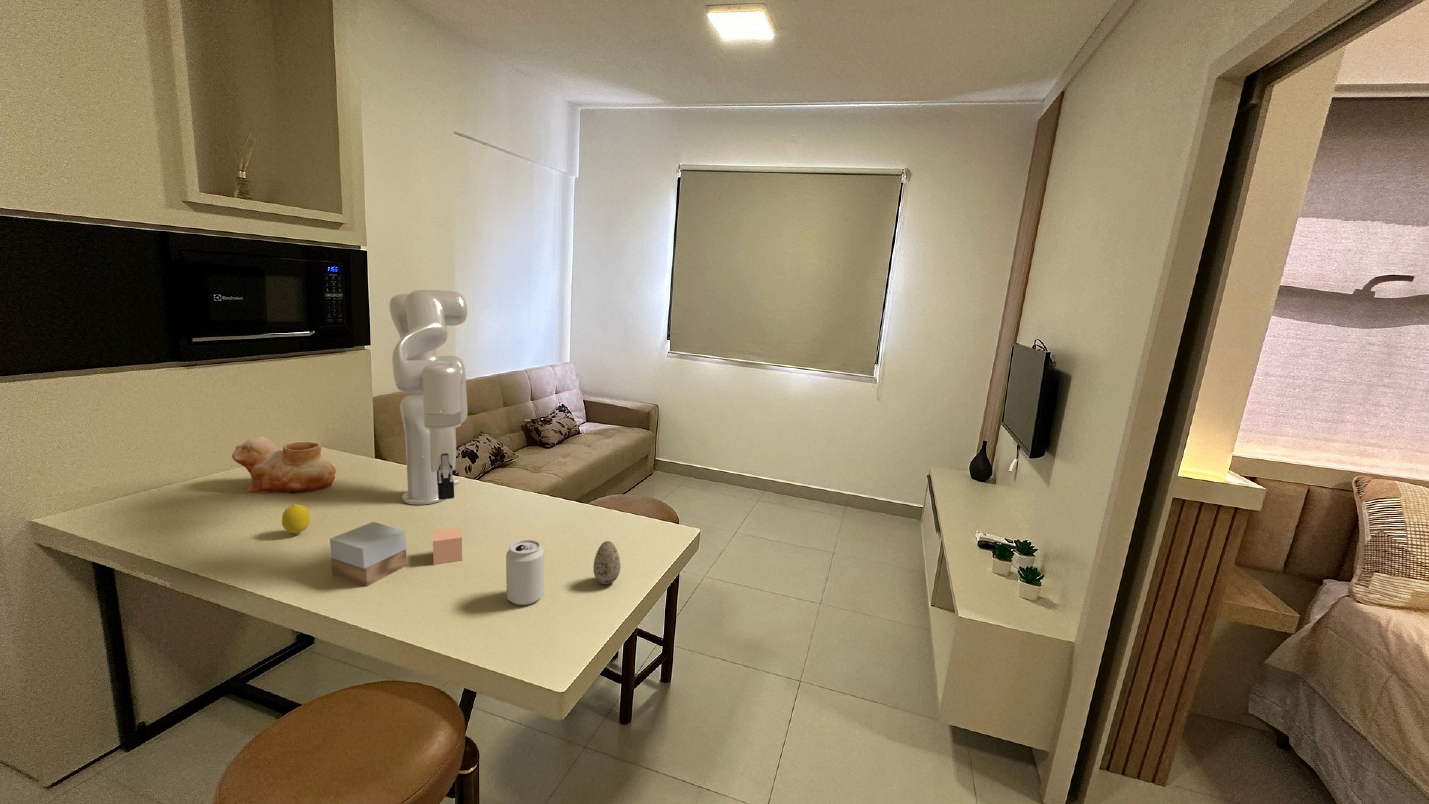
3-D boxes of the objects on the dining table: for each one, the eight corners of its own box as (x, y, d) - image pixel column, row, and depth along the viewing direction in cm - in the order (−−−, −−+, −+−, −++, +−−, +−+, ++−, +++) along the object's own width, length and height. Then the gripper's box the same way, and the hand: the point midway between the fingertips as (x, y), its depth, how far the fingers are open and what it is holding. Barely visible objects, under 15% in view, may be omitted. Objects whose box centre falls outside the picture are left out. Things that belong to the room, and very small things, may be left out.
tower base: (373, 557, 128) (372, 539, 127) (406, 566, 125) (405, 548, 124) (332, 577, 119) (331, 558, 118) (367, 587, 116) (366, 568, 115)
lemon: (296, 540, 133) (293, 509, 132) (277, 537, 134) (274, 506, 133) (316, 531, 138) (314, 501, 137) (298, 528, 139) (295, 498, 138)
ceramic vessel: (256, 477, 171) (251, 430, 168) (346, 479, 174) (342, 433, 171) (222, 493, 158) (216, 443, 155) (320, 495, 161) (316, 446, 158)
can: (512, 587, 119) (511, 536, 117) (547, 588, 120) (547, 537, 117) (502, 607, 112) (501, 553, 109) (539, 607, 112) (539, 553, 110)
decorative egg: (621, 588, 122) (622, 546, 120) (594, 590, 120) (595, 548, 118) (618, 574, 127) (619, 534, 125) (592, 577, 125) (593, 536, 123)
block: (433, 553, 131) (432, 530, 130) (460, 549, 134) (460, 527, 133) (433, 565, 126) (432, 541, 125) (462, 561, 129) (461, 537, 128)
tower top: (374, 539, 127) (373, 521, 127) (405, 549, 124) (405, 530, 123) (331, 557, 118) (329, 538, 117) (364, 568, 115) (362, 548, 114)
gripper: (424, 412, 129) (427, 481, 132) (424, 429, 114) (427, 506, 117) (459, 411, 133) (461, 478, 136) (463, 427, 118) (465, 502, 121)
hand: (445, 491), depth 126 cm, fingers open, 9 cm apart
